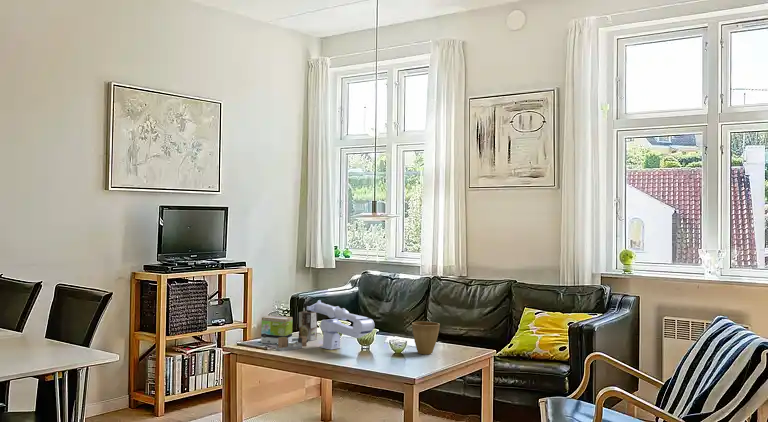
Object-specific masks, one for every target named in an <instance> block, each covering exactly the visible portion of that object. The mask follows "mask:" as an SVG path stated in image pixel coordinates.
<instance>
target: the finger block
mask: <svg viewBox="0 0 768 422" xmlns="http://www.w3.org/2000/svg"><path fill="white" fill-rule="evenodd" d="M297 342H299V343H302V348H303V347H307V342H308V340H307V337H304V336H301V337H299V336H298V338H297Z"/></svg>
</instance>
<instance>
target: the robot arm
mask: <svg viewBox="0 0 768 422" xmlns="http://www.w3.org/2000/svg"><path fill="white" fill-rule="evenodd" d="M302 306H303V308H304V309H305V311H307V312H311V311H312V312H317V314H321V315H325V316H327V317H328V318H329V319H322V320H321V321H320V323H319V327H320V330H321V332H322V333H323V336H322V339H323V340H322V345H320V346H319V348H321V349H322V348H323V349H326V350H337V349H342V347H341V335H340V334H342V335H345V336H347V337H351V338H354V339H360V338H362V337H364V336H366V335H368V334H371V333H372V332H373V330H374V329H375V322H374V320H373V319H372V318H369V317H367V316H363V315H360V314H359V315H358V314H354V313H350V312H349V311H348V310H347V309H346V308H344V307H342V308H341V307H340V306H339V305H337V306H334V305H331V304H328V303H327V304H326V301H324V300H321V299H319V300H317V301H315V302H314V304H313V302H311V301H309V302H305V303H304V302H303V303H302ZM347 320H349V321H350V322H352V323H353V324H352V326H351V325H348V324H345V323H342V321H347Z"/></svg>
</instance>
